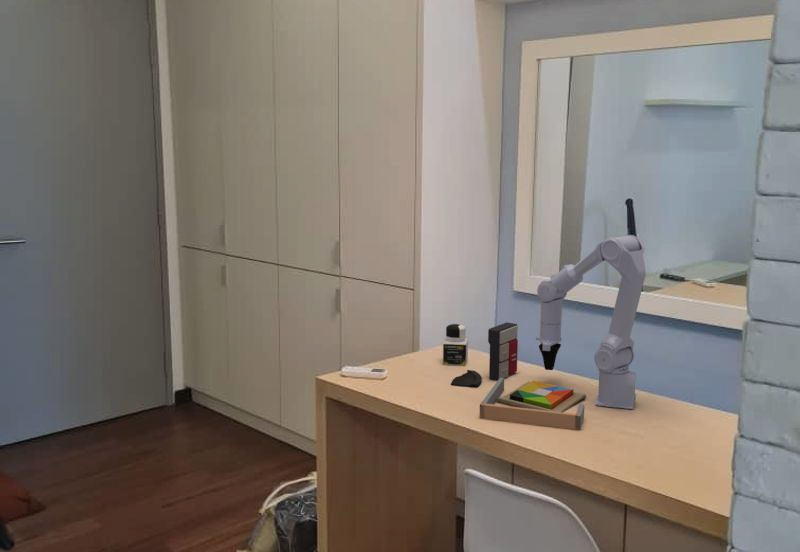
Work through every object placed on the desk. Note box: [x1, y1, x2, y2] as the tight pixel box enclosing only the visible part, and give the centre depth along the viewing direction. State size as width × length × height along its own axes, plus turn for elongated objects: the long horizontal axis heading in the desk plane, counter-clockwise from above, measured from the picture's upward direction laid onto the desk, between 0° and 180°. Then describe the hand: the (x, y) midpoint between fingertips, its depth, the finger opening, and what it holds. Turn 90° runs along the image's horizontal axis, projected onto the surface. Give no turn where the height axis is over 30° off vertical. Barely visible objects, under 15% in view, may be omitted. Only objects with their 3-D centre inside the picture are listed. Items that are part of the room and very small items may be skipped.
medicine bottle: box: [442, 323, 469, 367], centre depth 233 cm, size 7×7×12 cm
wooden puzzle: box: [496, 380, 587, 413], centre depth 198 cm, size 18×19×4 cm
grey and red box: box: [487, 322, 519, 382], centre depth 218 cm, size 11×4×15 cm, turn 143°
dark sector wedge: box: [450, 369, 483, 389], centre depth 216 cm, size 8×14×2 cm, turn 160°
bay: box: [479, 378, 585, 431], centre depth 192 cm, size 24×24×4 cm
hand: (549, 369), depth 211 cm, fingers closed
